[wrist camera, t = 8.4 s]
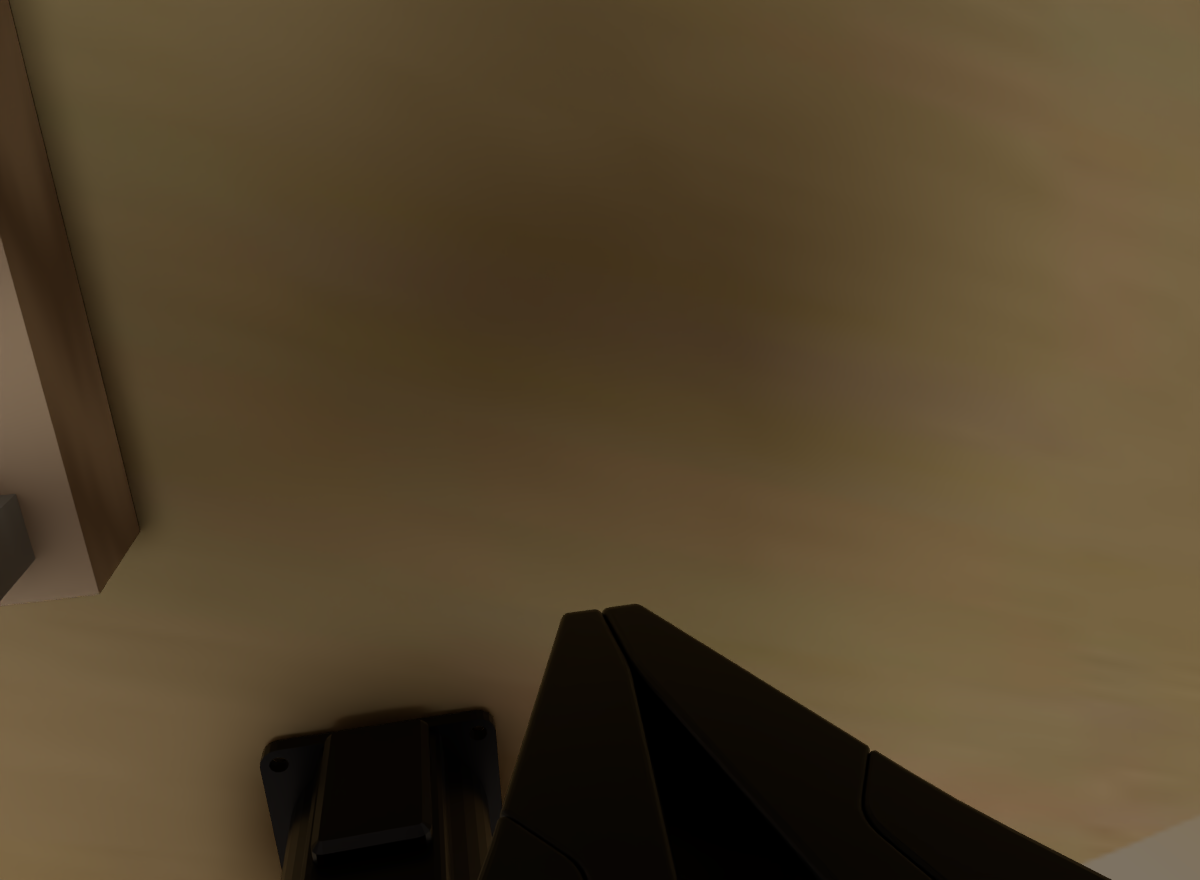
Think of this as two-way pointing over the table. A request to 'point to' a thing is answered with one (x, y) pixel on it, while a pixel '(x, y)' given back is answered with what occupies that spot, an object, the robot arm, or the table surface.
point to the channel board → (48, 381)
